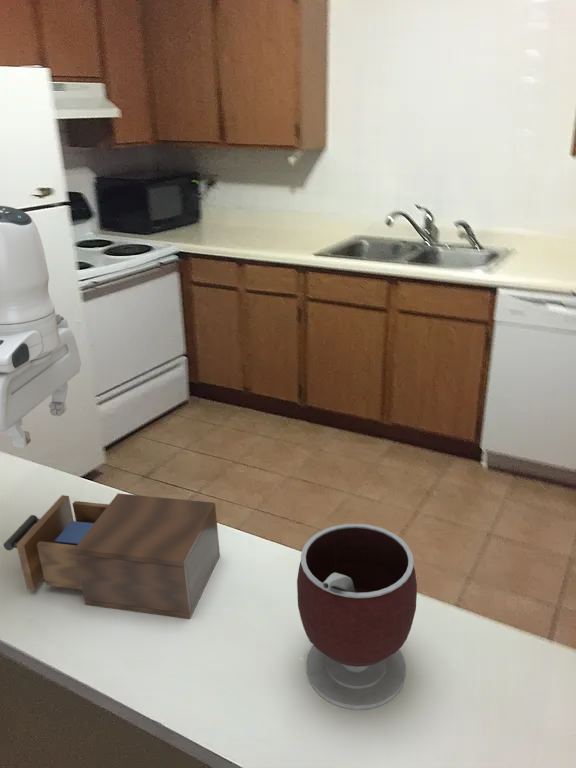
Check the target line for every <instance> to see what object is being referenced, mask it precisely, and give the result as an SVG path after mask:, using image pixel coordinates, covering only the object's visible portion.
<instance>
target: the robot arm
mask: <svg viewBox="0 0 576 768" xmlns="http://www.w3.org/2000/svg"><path fill="white" fill-rule="evenodd" d="M49 281H50V275H49V269H48V263H47V259H46V254H45V250H44V245H43V241H42V239H41V235H40V233H39V229H38V227H37V225H36V223H35V221H34V220H33V219H32V217H31V216H30V215H29V214H28V213H27V212H25V211H23V210H21V209H20V208H15V207H12V206H7V205H0V432H6V433H7V435H8V436H9V437H10V439H11V443H12V446H13V447H14V448H16V449H25V448H26V447H27V446H28V445H30V443H31V438H30V437H31V435H30V432H29V431H27V430H23V428H22V425H23V418H24V417H25V416H26V415H28V414H29V413H30V412H32V411H33V410H34V409H35V408H36V407H38V406H39V405H40V404H41V403H43V402H44V401H45V400H46V399H48V398H49V397H50V396H51V402H50V403H48V407H49V413H50V415H51V416H54V417H55V416H57V417H61V416H62V415H64V413H65V412H67V403H66V400H67V394H68V390H69V385H68V382H69V381H70V380H72V379H73V378H74V377H75V376H76V375H78V374H79V373H80V370H81V366H82V365H81V364H82V361H81V357H80V352H79V349H78V345H77V340H76V337H75V335H74V333H73V331H72V329H70V328H69V324H68V321H67V319H66V318H65V317H64V316H63V315H60V314H58V313H57V314H56V310H55V305H54V302H53V301H52V299H51V296H50V293H49Z"/></svg>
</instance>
